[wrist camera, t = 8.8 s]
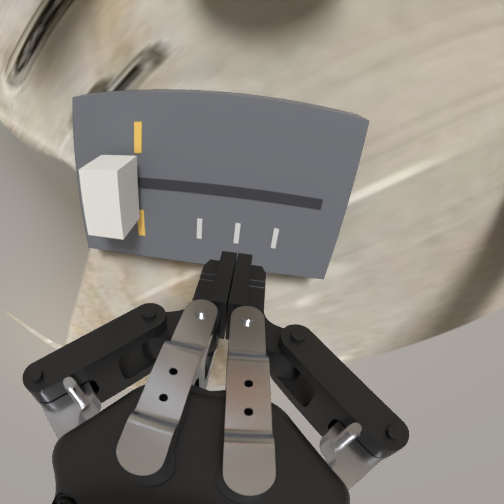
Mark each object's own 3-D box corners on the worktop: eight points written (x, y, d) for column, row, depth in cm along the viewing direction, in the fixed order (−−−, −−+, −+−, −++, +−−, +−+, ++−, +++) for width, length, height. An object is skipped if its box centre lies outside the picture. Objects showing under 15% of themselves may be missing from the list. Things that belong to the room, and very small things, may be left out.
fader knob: (141, 152, 19) (117, 170, 16) (143, 212, 22) (123, 239, 19) (106, 151, 19) (78, 169, 16) (111, 209, 22) (88, 234, 19)
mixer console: (357, 114, 20) (369, 120, 17) (319, 259, 28) (323, 279, 25) (91, 92, 19) (71, 97, 17) (101, 231, 27) (88, 248, 25)
